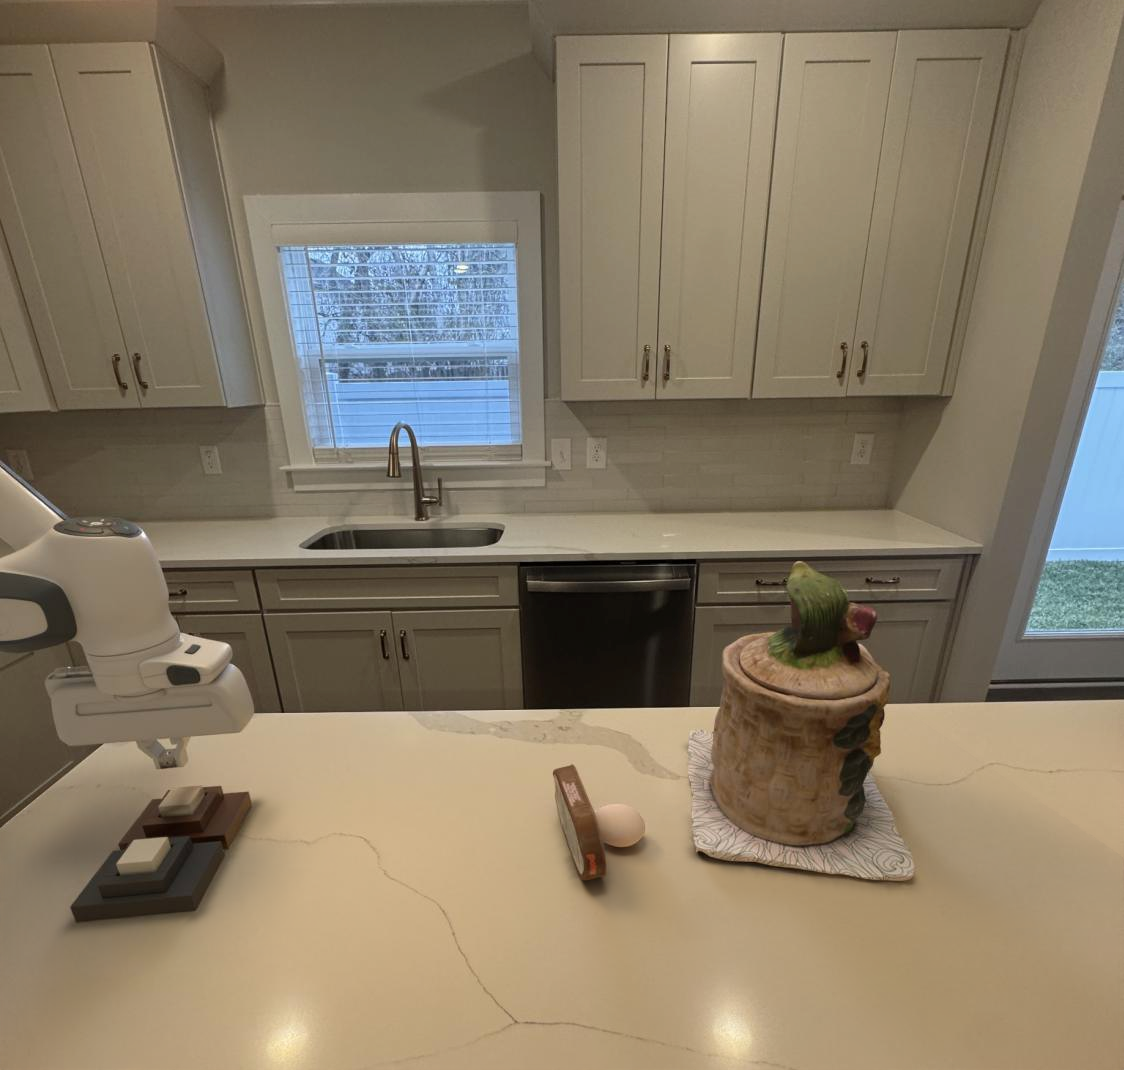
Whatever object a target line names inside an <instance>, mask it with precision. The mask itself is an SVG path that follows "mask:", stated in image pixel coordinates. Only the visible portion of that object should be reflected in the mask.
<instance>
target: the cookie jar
mask: <svg viewBox="0 0 1124 1070" xmlns="http://www.w3.org/2000/svg"><path fill="white" fill-rule="evenodd" d="M785 589H786V590H785V591H786V593H788V596H789V599H790V618H791V619H790V620H791V624H790V625H788V626H786V627H784V628H782V629H780V630H778V631H768V632H762V633H752V634H748V635H743V636H742V637H739V638H738V639H737V640H735V641H733V642H732V643H730V644H729V645H726V646H725V648H724V649H723V650H722V655H721V656H722V657H721V666H722V667H721V669H722V674H723V676H724V678H725V679H724V682H723V686H722V692H721V695H720V703H719V708H718V709H717V712H716V715H715V718H714V723H713V730H712V731H707V730H705V729H694V730H693V729H692V730H690V732H689V737H688V746H687V752H686V753H687V755H688V758H689V759H688V762H687V777H688V778H689V782H690V789H691V793H692V799H691V801H692V804H691V811H690V812H691V813H690V816H691V820H692V824H691V826H690V827H691V833H692V838H693V843H694V846H695V852H696V853H698V852H703V853H704V854H706V855H707V856H709V857H710V858H714V859H719V860H723V861H727V862H749V863H750V862H751V863H752V862H753V863H754V862H755V863H759V864H763V865H768V866H770V867H771V866H772V867H781V868H787V869H796V870H804V871H805V870H806V871H811V872H812V871H813V872H815V873H816V872H817V873H822V874H823V873H824V874H829V875H845V876H850V877H855V878H859V879H866V880H871V881H872V880H873V881H891V882H893V881H894V882H895V881H896V882H903V881H909V880H910V879H912V878H913V877H914V873H915V871H916V866H915V859H914V856H913V854H912V853H911V851H910V849H909V848H908V847H907V845H906V843H904V838H903V837H902V836H901V834H900V833H899V832H898V829H897V827H896V825H895V819H894V816H893V813H892V809H891V808H890V807H889V806H888V805H887V802H886V800H885V798H884V796H883V794H882V793H881V792H880V790H879V789H878V785H877V783H876V780H875V778H874V776H873V775H872V773H871V772H870V770H871V769H872V768H873V766H874V762H875V758H877V757H878V756H880V755H881V753H882V748H881V743H882V740H881V730H880V729H881V728H882V726H883V724H884V721H885V715H886V712H885V707H886V705H887V704H888V702H889V700H890V698H891V694H890V686H891V680H890V679H891V675H890V673H889V672H888V671H885V670H884V669H883V667H881V666H880V664H879V663H877V661H876V660H875V658H874V657H873V655H872V654H871V652H870V651H869V650H868V648H866V647H865V646H864V645H863V644H862V643H858V642H857V641H865V640H866V641H867V640H868V639H869V638H870V637H871V634H872V630H873V629H874V627H875V625H876V622H877V620H878V615H877V612H876V611H875V610H874V609H873V608H871V606H868V605H863V604H858V603H855V602H852V601H851V602H850V599H849V593H848V591H847V590H846V589H845V587H844V586H843V584H842V583H841V582H840V581H839V580H838V579H836V578H832V577H830V576H827V575H825V574H823V573H821V572H819V571H817V570H816V569H814V568H812V567H810V566H809V565H808V564H807V563H806V562H804V561H800V560H798V561H796V562H794V563H793V565H792V567H791V570H790V573H789V576H788V578H787V583H786V587H785Z"/></svg>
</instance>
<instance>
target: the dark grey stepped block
mask: <svg viewBox="0 0 1124 1070" xmlns="http://www.w3.org/2000/svg"><path fill="white" fill-rule="evenodd" d="M168 840H169V843H170V846H171V850H170V852H169V853H168V855H167V856H166V858H165V859H164V861H163V862H162V864H161V866H160V867H159V869H158V870H157V872H155V873H144V874H133V875H122V876H120V873H119V871H118V868H117V865H116V863H117V862H118V861H119V859H120V858H121V857H122V855H123V854H124V853H125V851H126V850H127V848H128V847H129V846H130V844H131V843H132V842H133V841H130V842H129V843H128V845H127V846H126V848H125V849H124V850H120V849H118V850H112V852H110V854H109V855H108V856H107V858H106V859H105V860H104V862H103V863H102V864H101V866H100V867H99V868H98V869H97V871H96V872H95V874H94V875H93V876H92V878H91V879H90V880H89V882H88V883H86V885H85V887H84V888H83V889H82V891H81V892H80V893H79V895H77V897H76V898H75V900H74V901H73V902H72V904H70V906H69V909H70V911H71V913H72V916H73V919H74V921H75V922H76V923H83V922H93V921H95V922H96V921H102V920H103V921H104V920H105V921H106V920H115V919H123V918H134V917H143V916H145V917H146V916H155V915H164V914H166V915H167V914H175V913H185V912H195V911H196V910H197V909H198V908H199V905H200V904H201V902H202V900H203V898H204V896H205V894H206V892H207V890H208V888H209V887H210V884H211V882H212V881H213V879H214V877H215V875H216V873H217V872H218V870H219V868H220V866H221V864H222V862H223V860H224V858H225V856H226V854H225V849H223V846H222V843H221V841H217V842H206V843H195V844H192V841H191V838H190V836H182V837H170V838H168Z"/></svg>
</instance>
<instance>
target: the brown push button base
mask: <svg viewBox="0 0 1124 1070" xmlns="http://www.w3.org/2000/svg"><path fill="white" fill-rule="evenodd" d="M202 787H203V790H204V794H205V798H204V799H203V801H202V802H201V804H200V805H199V807H198V809H197V810H196V812H195V813H194V815H183V816H171V817H161V814H160V811H159V808H158V806H159V805H160V804H161V802H162V801H163V800H164V798H165V797H166V796H167V794H168V793H169V792H170V790H171V789H168V790H167V791H166V792H165V794H164V795H163V796H162V797H161V798H152V799H151V800H150V802H149V803H148V804H147V805H146V807H145V808H144V809H143V811H142V812H141V813H140V814H139V816H138V817H137V819H136V820H134V823H133V824H132V825H131V826H130V828H129V829H128V830H127V832H126V833H125V834H124V836H123V837H122V838H121V839H120V840H119V842H118V843H117V846H118V848H119V849H118V850H124V849H125V848H126V846H127V845H128V843H129V842H130V841H133V840H138V839H150V838H161V837H168V838H170V837H182V836H190V838H191V841H192V844H195V843H206V842H217V841H221V843H222V846H223V850H229V849H230V848H231V845H232V843H233V842H234V840H235V838H236V836H237V834H238V832H239V830H240V828H241V826H242V825H243V822H244V821H245V819H246V817H247V815H248V814H249V811H250V809H251V808H252V806H253V803H252V798H251V795H250V791H237V792H236V791H235V792H224V790H223V787H222V785H211V786H202Z"/></svg>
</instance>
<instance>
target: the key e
mask: <svg viewBox="0 0 1124 1070" xmlns="http://www.w3.org/2000/svg"><path fill="white" fill-rule="evenodd" d="M203 787H204V786H203V785H191V786H190V785H189V786H178V787H171V789H169V790H170V792H169V793H168V794H167V796H166V797H165V798H164V800H163V801H162V802H161V804H160V805H159V806H158V808H159V811H160V814H161V817H171V816H183V815H194V813H195V812H196V810H197V809H198V807H199V805H200V804H201V802H202V801H203V799H204V798H205V794H204V790H203Z"/></svg>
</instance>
